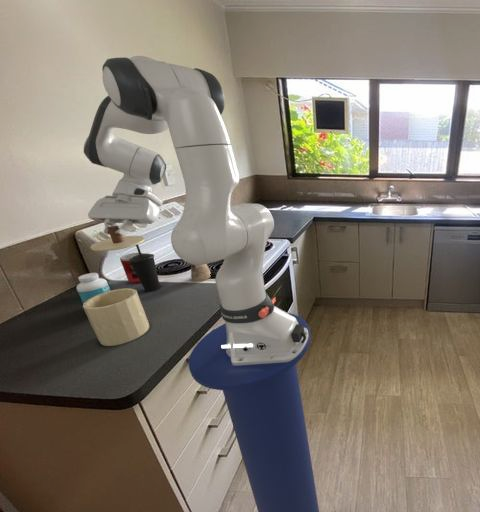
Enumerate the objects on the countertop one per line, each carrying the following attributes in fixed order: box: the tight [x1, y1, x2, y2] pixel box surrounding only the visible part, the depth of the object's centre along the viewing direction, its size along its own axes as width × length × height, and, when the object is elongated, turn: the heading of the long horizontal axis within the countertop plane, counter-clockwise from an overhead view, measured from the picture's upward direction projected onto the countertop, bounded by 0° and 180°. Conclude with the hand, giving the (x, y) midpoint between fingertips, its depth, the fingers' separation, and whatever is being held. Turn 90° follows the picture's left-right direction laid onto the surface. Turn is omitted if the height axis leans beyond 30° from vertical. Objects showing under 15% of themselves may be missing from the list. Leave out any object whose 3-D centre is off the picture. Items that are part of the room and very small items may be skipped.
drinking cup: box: [129, 244, 161, 293], centre depth 110 cm, size 8×8×20 cm
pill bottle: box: [76, 272, 112, 304], centre depth 97 cm, size 8×7×14 cm
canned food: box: [119, 252, 143, 285], centre depth 120 cm, size 8×8×11 cm
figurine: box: [188, 263, 212, 283], centre depth 121 cm, size 7×7×12 cm
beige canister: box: [82, 287, 150, 347], centre depth 85 cm, size 12×12×12 cm
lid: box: [90, 224, 146, 252], centre depth 89 cm, size 13×13×6 cm
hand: (113, 234), depth 88 cm, fingers closed on lid, 2 cm apart
